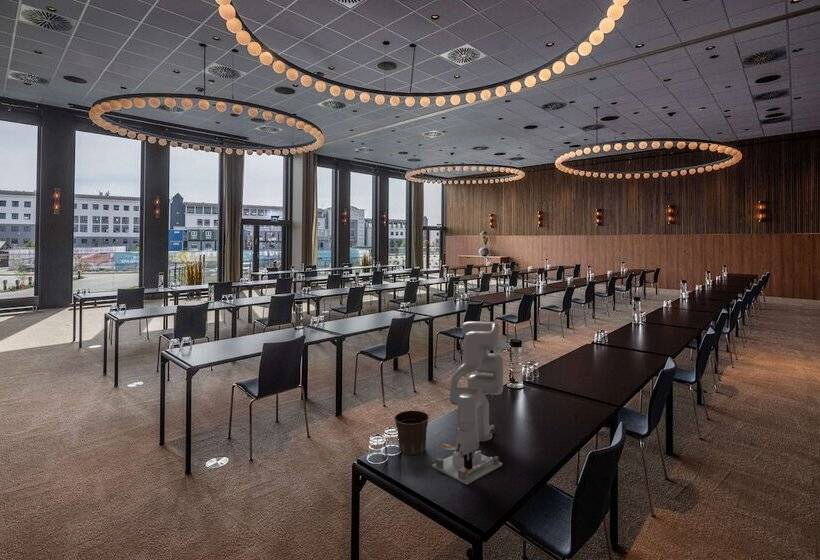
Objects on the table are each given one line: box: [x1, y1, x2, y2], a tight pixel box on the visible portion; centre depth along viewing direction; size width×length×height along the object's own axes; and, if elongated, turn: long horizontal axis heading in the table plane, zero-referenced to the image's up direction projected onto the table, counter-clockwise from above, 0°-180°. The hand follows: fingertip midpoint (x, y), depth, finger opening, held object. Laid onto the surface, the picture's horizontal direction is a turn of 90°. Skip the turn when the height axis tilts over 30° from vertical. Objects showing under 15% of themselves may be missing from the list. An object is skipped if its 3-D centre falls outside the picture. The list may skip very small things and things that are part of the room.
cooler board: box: [431, 449, 503, 485], centre depth 194 cm, size 23×20×6 cm
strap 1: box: [440, 443, 456, 451], centre depth 200 cm, size 19×3×2 cm, turn 132°
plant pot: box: [394, 410, 430, 456], centre depth 211 cm, size 16×16×16 cm
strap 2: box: [461, 456, 494, 475], centre depth 190 cm, size 19×3×2 cm, turn 131°
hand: (468, 467), depth 185 cm, fingers closed
